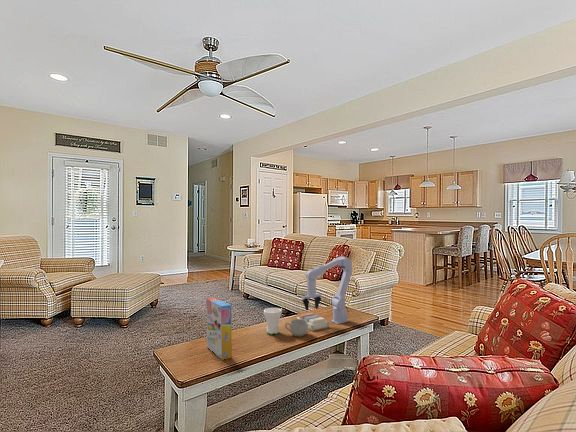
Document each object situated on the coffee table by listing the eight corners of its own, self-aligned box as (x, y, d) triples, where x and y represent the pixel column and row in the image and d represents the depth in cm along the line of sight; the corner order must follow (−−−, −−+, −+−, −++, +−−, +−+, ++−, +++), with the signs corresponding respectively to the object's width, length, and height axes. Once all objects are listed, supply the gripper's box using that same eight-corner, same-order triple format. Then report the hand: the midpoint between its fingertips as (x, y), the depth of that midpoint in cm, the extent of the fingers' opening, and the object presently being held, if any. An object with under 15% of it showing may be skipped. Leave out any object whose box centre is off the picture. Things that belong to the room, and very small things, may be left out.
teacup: (308, 331, 206) (308, 319, 206) (307, 338, 195) (307, 324, 195) (286, 331, 207) (285, 318, 207) (284, 337, 197) (284, 324, 197)
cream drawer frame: (311, 319, 231) (311, 314, 231) (328, 327, 214) (328, 322, 214) (295, 322, 224) (295, 317, 224) (312, 331, 207) (312, 325, 207)
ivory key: (321, 320, 218) (321, 317, 218) (324, 322, 215) (324, 318, 215) (309, 323, 213) (309, 319, 213) (312, 324, 210) (312, 321, 210)
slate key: (316, 318, 223) (316, 314, 223) (319, 319, 220) (319, 316, 220) (304, 320, 218) (304, 317, 218) (307, 322, 215) (307, 318, 215)
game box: (232, 358, 169) (231, 304, 169) (222, 360, 166) (221, 306, 166) (215, 345, 186) (215, 296, 186) (206, 347, 183) (205, 298, 183)
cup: (273, 328, 212) (273, 306, 212) (285, 332, 205) (285, 310, 204) (260, 333, 205) (259, 310, 205) (272, 337, 197) (271, 313, 197)
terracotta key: (311, 316, 228) (311, 312, 228) (314, 317, 225) (314, 313, 225) (299, 318, 223) (299, 314, 223) (302, 319, 220) (302, 316, 220)
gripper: (317, 286, 226) (317, 306, 226) (299, 288, 219) (299, 309, 219) (323, 288, 220) (323, 308, 220) (304, 290, 213) (305, 312, 213)
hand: (311, 309), depth 219 cm, fingers open, 7 cm apart
